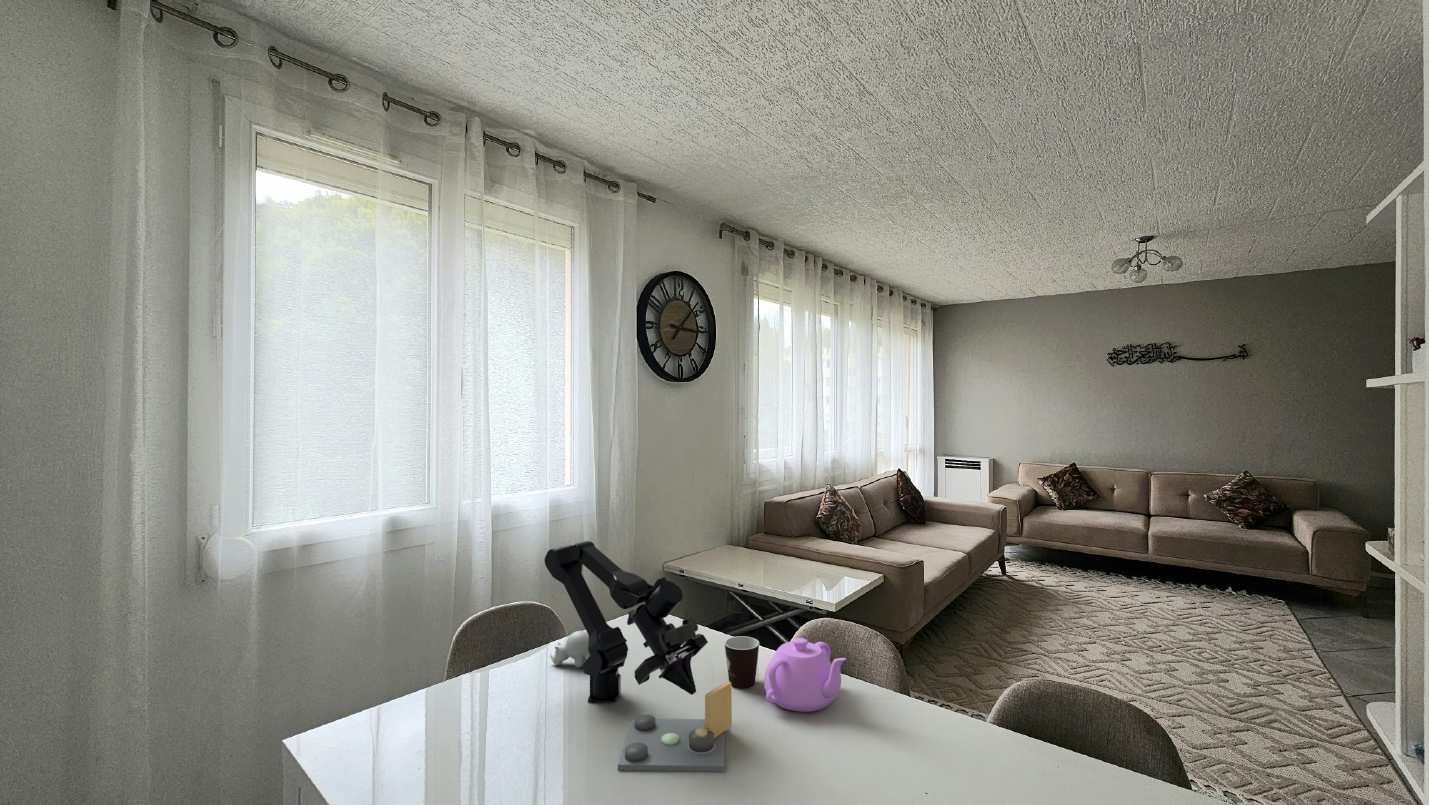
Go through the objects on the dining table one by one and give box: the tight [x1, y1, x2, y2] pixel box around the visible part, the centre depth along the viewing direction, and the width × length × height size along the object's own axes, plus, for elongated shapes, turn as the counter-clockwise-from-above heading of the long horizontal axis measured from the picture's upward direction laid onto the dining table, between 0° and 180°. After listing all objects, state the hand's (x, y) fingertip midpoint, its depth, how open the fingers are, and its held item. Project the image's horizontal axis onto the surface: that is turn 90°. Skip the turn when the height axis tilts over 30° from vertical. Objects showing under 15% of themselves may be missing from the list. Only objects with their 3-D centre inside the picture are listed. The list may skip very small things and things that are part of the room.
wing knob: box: [689, 680, 733, 752], centre depth 122 cm, size 12×5×9 cm, turn 143°
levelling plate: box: [617, 713, 726, 772], centre depth 121 cm, size 20×17×2 cm
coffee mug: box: [724, 635, 760, 690], centre depth 150 cm, size 12×9×10 cm
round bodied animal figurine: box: [549, 630, 590, 669], centre depth 161 cm, size 7×12×8 cm, turn 89°
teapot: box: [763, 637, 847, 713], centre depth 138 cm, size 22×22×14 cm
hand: (694, 693), depth 126 cm, fingers closed
